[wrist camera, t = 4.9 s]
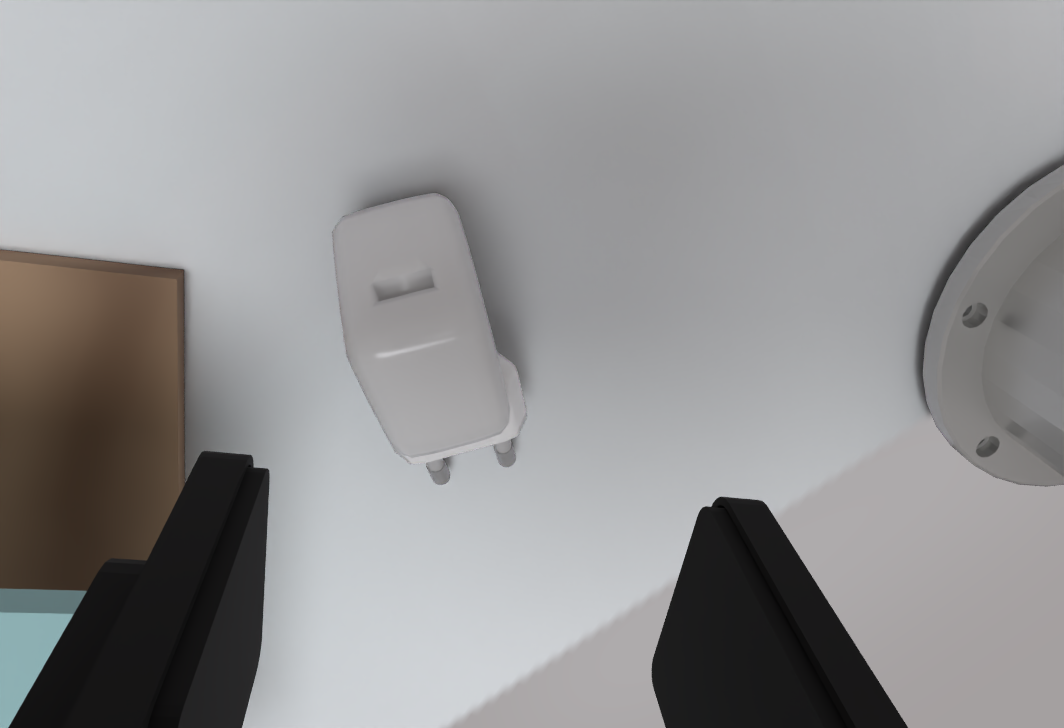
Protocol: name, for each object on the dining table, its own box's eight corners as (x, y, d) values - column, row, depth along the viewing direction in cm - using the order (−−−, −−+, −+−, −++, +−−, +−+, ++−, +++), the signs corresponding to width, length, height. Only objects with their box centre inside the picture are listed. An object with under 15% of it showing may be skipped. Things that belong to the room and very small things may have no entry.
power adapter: (517, 384, 29) (553, 511, 26) (401, 415, 28) (422, 547, 25) (466, 170, 21) (508, 318, 18) (304, 211, 20) (318, 368, 17)
